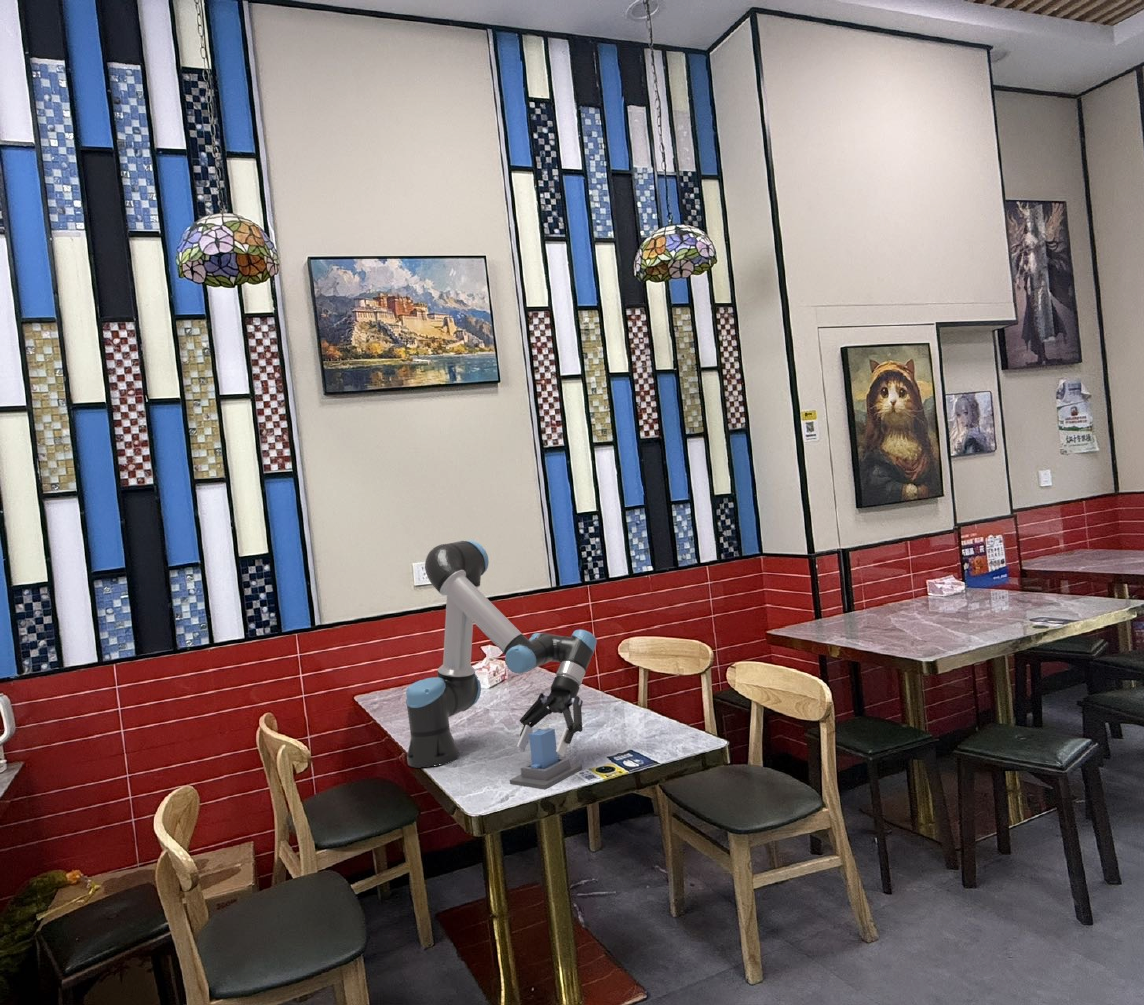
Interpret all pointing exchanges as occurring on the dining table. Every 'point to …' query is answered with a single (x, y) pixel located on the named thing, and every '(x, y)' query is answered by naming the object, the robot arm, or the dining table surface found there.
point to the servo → (543, 748)
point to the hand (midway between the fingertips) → (539, 751)
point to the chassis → (545, 774)
